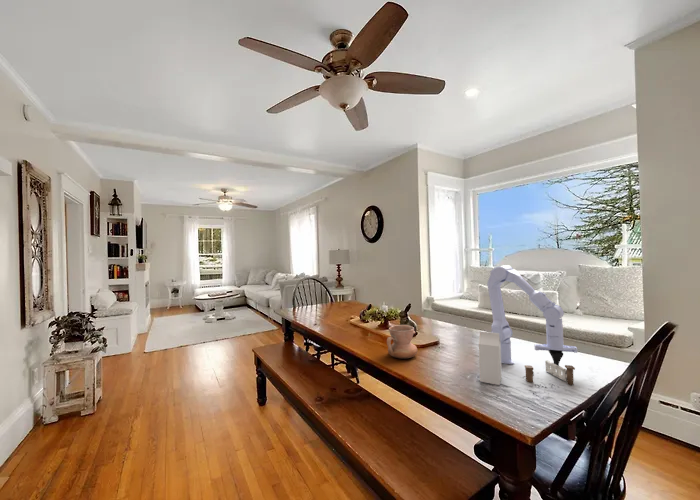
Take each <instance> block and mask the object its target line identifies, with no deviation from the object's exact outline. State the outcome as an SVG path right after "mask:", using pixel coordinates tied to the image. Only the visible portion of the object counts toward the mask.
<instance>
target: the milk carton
mask: <svg viewBox="0 0 700 500" xmlns="http://www.w3.org/2000/svg"><path fill="white" fill-rule="evenodd" d="M478 364H479V365H478V367H479V368H478V369H479V382H481V383H485V384H493V385H496V386H500V385H501V382H502V378H503V377H502V376H503V374H502V373H503V372H502V363H501V342H500V337H499V333H491V331H489V332H488V331H479V337H478Z"/></svg>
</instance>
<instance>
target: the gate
mask: <svg viewBox="0 0 700 500" xmlns="http://www.w3.org/2000/svg"><path fill="white" fill-rule="evenodd" d="M545 371H546V372H547V373H549V374H551V375H552V376H554V377H556V378H558V379H560V380H561V381H564V382H566V383H567V368H564V367H562V366H560V365H559V366H558V365H556V364H554V362H553V361H550V360H545Z"/></svg>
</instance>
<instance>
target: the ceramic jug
mask: <svg viewBox="0 0 700 500" xmlns="http://www.w3.org/2000/svg"><path fill="white" fill-rule="evenodd" d="M388 332H389V335H390V336H388V337H387V339H386V345H387V353H388V354H389V355H390V356H391V357H393V358H395V359H400V360H401V359H403V360H406V359H411V358H413V357H415V356H416V355H417V354H418V348H417V345H415V344H413V343H412V339H413V337H414V334H416V331H415V327H413V326H411V325H410V324H396V325H392V326H390V327H389V328H388ZM392 341H393V342H392ZM391 343H392V344H391Z"/></svg>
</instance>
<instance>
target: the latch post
mask: <svg viewBox="0 0 700 500" xmlns="http://www.w3.org/2000/svg"><path fill="white" fill-rule="evenodd" d="M524 368H525V381H526V382H527V383H534V376H535V373H534V371H533V370H534V367H533V366H532V365H527V364H526V365H524Z"/></svg>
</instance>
